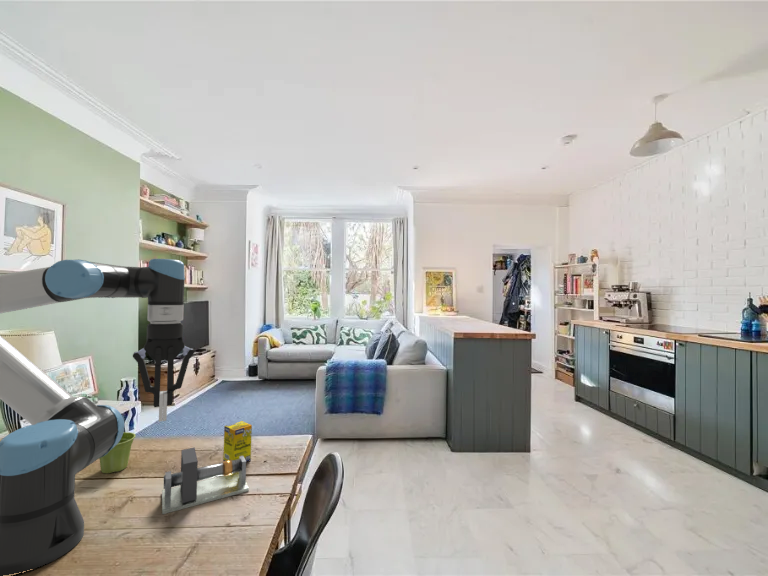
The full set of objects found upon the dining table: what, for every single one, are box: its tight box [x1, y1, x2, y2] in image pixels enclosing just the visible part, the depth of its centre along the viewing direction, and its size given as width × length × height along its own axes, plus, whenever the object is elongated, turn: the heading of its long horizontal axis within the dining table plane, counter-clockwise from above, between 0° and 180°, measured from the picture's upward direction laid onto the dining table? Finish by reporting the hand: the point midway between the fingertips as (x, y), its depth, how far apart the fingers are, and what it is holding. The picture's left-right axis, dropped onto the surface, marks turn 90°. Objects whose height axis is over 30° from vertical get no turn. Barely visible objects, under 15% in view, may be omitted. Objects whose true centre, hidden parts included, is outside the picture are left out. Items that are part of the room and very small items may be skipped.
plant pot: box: [98, 431, 137, 474], centre depth 102 cm, size 9×9×9 cm
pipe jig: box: [161, 456, 250, 515], centre depth 90 cm, size 19×10×7 cm, turn 123°
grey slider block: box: [179, 447, 199, 503], centre depth 88 cm, size 3×9×9 cm, turn 32°
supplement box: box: [222, 420, 253, 463], centre depth 107 cm, size 6×6×11 cm
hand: (162, 419), depth 85 cm, fingers closed
